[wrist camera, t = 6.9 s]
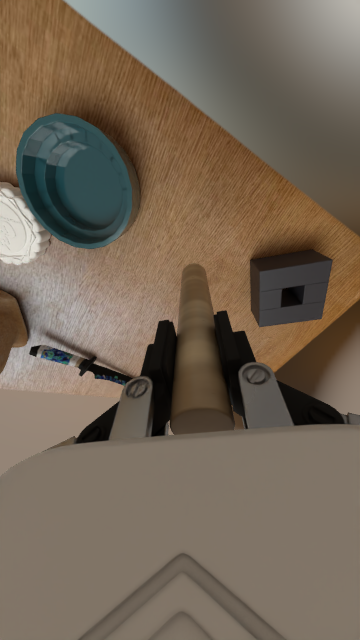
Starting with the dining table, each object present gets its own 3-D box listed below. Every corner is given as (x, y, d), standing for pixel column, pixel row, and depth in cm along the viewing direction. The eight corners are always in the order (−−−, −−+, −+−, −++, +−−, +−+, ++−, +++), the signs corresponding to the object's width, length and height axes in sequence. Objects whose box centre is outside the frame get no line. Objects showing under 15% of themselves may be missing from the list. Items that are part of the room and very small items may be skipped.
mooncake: (-17, 248, 38) (-36, 254, 35) (-34, 168, 31) (-58, 167, 28) (52, 268, 39) (41, 275, 36) (50, 195, 33) (36, 196, 30)
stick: (179, 265, 21) (162, 411, 7) (204, 260, 21) (232, 404, 7) (184, 287, 22) (177, 447, 9) (207, 283, 22) (237, 443, 8)
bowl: (24, 141, 29) (-10, 132, 24) (123, 113, 27) (107, 97, 22) (71, 246, 37) (52, 256, 32) (151, 230, 35) (145, 238, 30)
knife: (36, 341, 47) (25, 356, 43) (41, 332, 45) (30, 347, 42) (153, 388, 59) (152, 403, 55) (159, 383, 57) (158, 398, 54)
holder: (250, 259, 37) (259, 271, 32) (312, 249, 36) (333, 259, 30) (250, 310, 42) (259, 327, 37) (305, 302, 41) (321, 319, 36)
